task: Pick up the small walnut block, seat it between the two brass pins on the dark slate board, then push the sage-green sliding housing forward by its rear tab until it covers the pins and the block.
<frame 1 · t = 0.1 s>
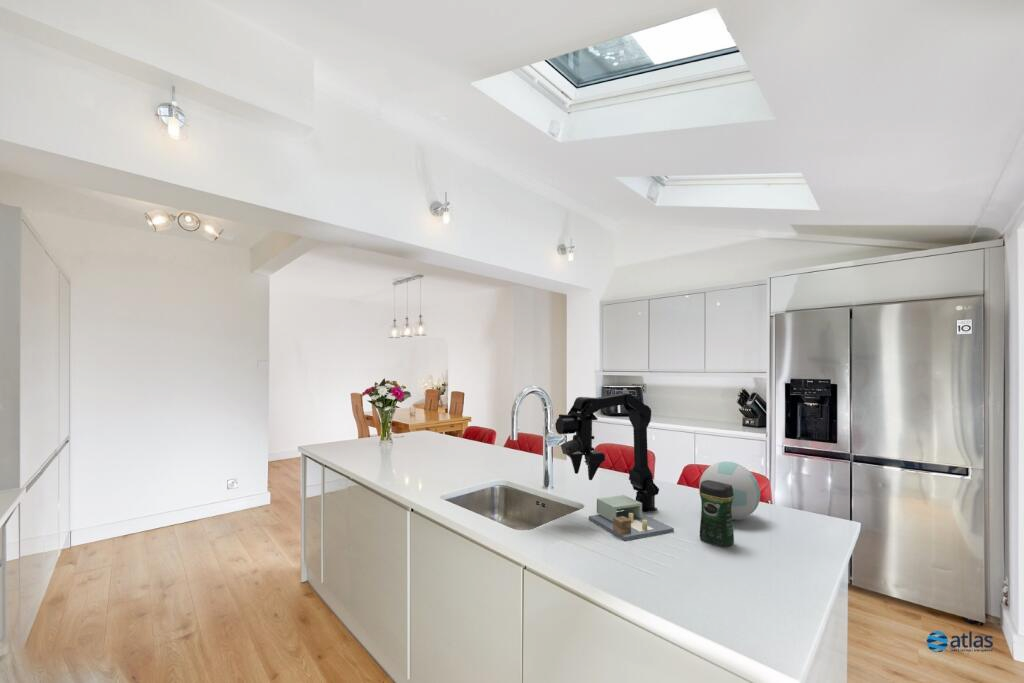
hand: (583, 476, 162), 15 cm above the worktop, tool pointing down, fingers open, 9 cm apart
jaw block: (621, 531, 147), point 1 cm above the worktop, touching board
housing: (615, 506, 163), point 4 cm above the worktop, slide at 0.0 cm
volleyball: (728, 518, 165), on the worktop
coffee jar: (716, 542, 143), on the worktop
board: (629, 525, 155), on the worktop
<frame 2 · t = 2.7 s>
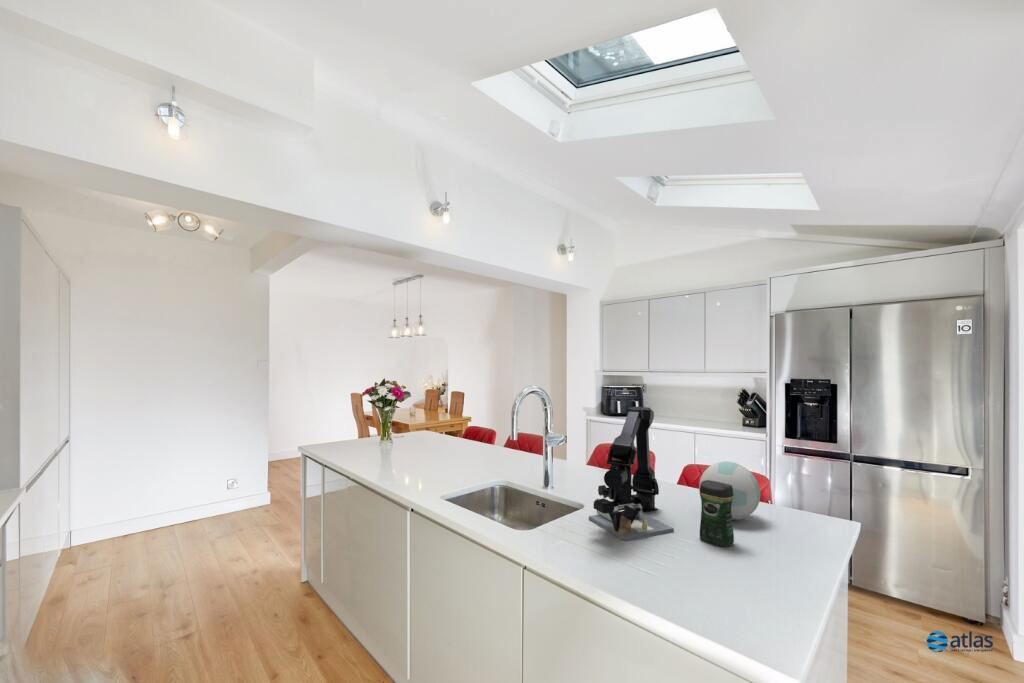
hand: (621, 530, 147), 2 cm above the worktop, tool pointing down, fingers closed on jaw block, 4 cm apart
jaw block: (621, 531, 147), point 1 cm above the worktop, touching board, gripper
everything else where it was.
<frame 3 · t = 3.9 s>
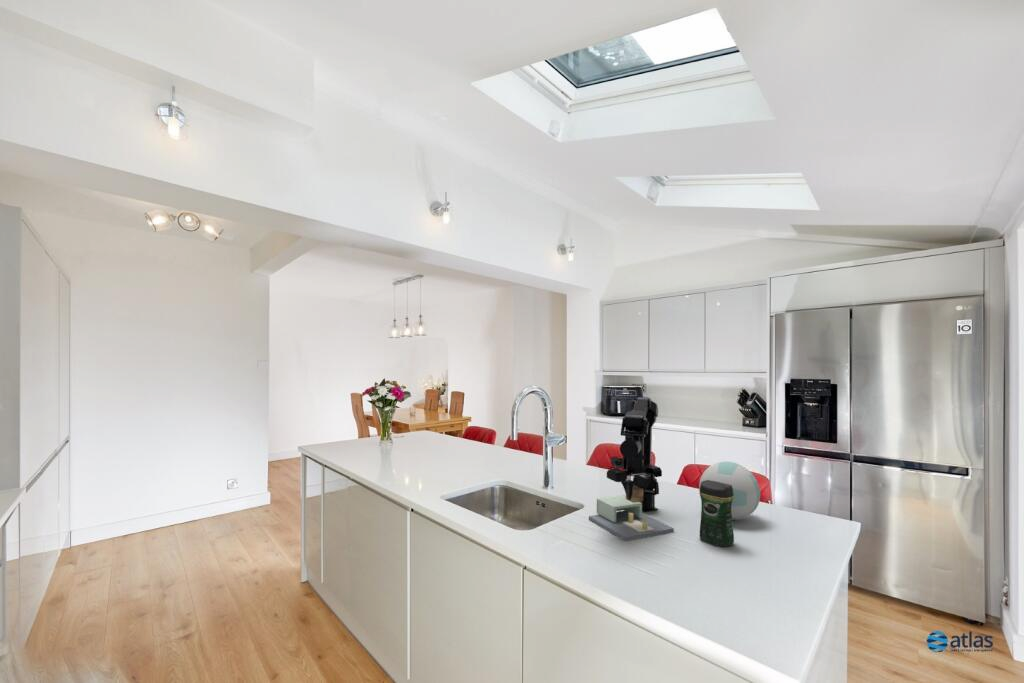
hand: (634, 498, 151), 10 cm above the worktop, tool pointing down, fingers closed on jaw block, 4 cm apart
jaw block: (634, 500, 151), point 10 cm above the worktop, touching gripper
everything else where it was.
when the fingers open (3 cm above the worktop, at t = 5.2 s): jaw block drops 1 cm, resting on board.
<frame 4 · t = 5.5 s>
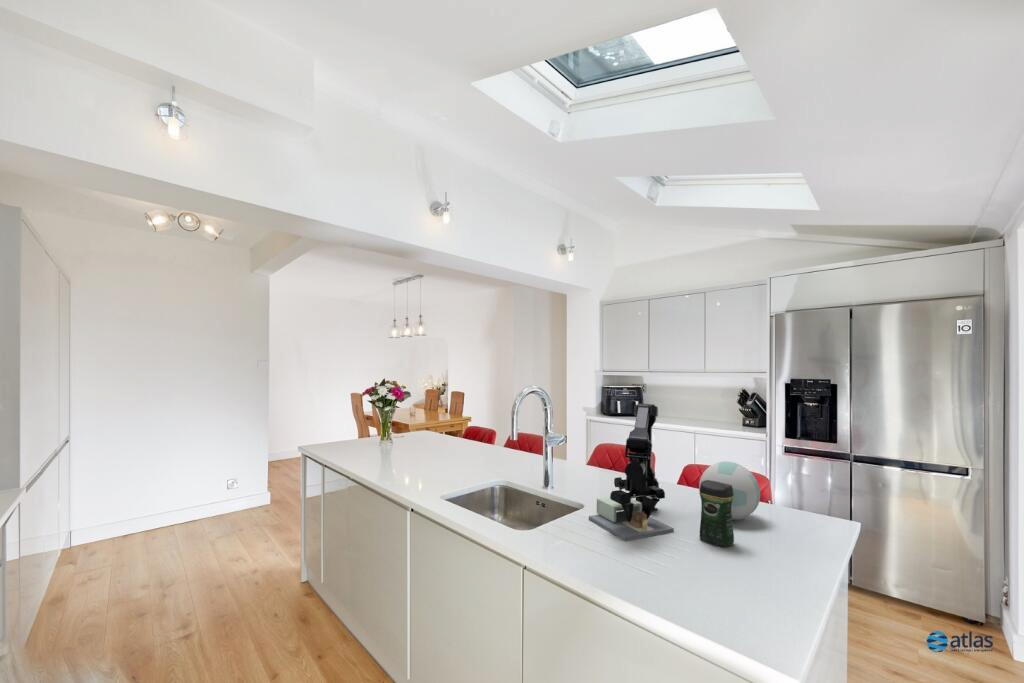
hand: (637, 520, 152), 3 cm above the worktop, tool pointing down, fingers open, 7 cm apart
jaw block: (637, 525, 152), point 1 cm above the worktop, touching board
everything else where it was.
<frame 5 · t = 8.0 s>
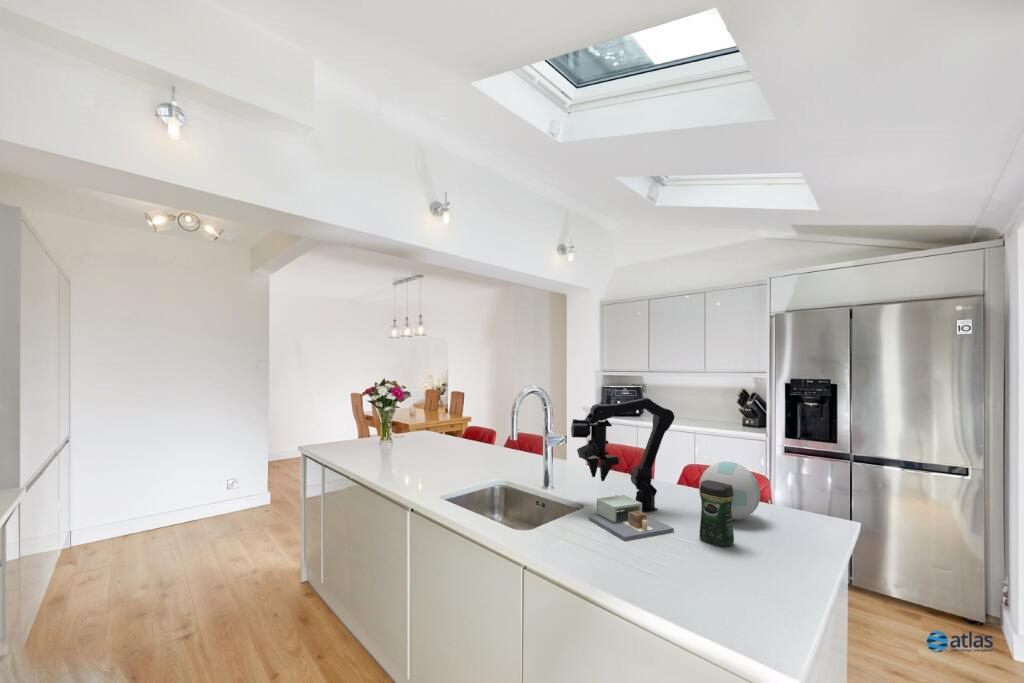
hand: (598, 479, 173), 11 cm above the worktop, tool pointing down, fingers open, 6 cm apart
nothing on the worktop moved.
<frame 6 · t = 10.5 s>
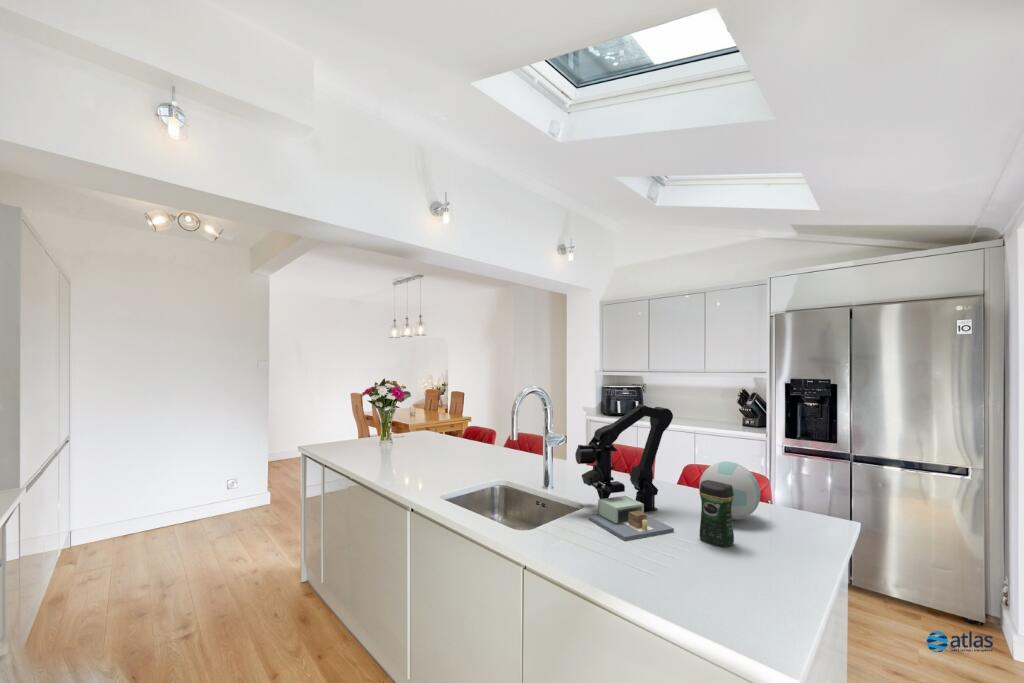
hand: (603, 505, 170), 2 cm above the worktop, tool pointing down, fingers closed
housing: (617, 507, 162), point 4 cm above the worktop, slide at 1.0 cm, touching gripper
everything else where it was.
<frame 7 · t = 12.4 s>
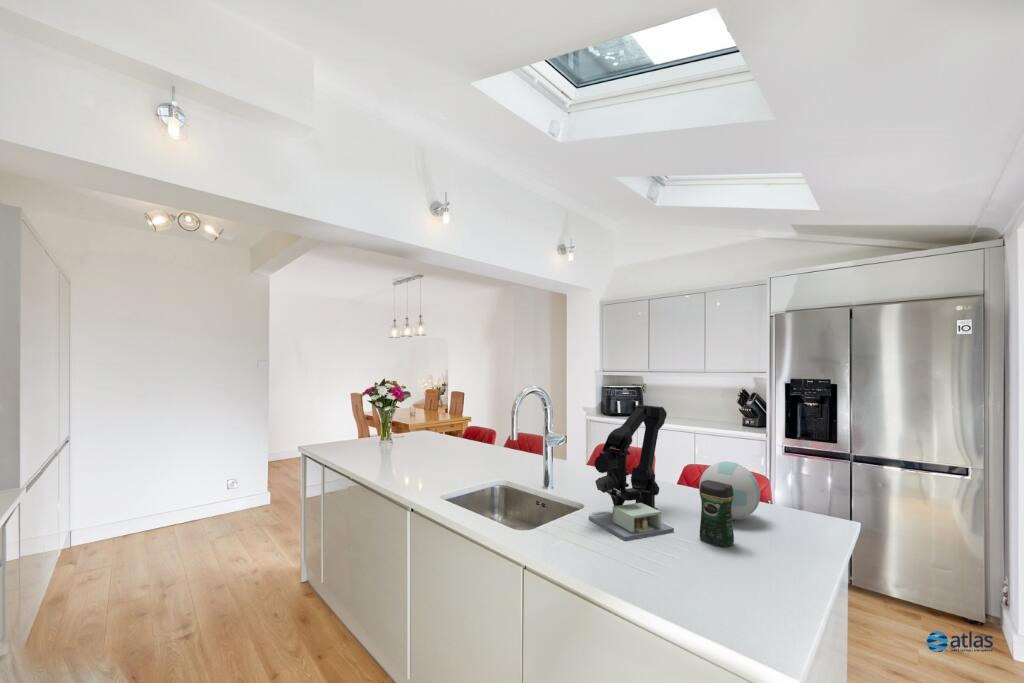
hand: (617, 512, 162), 2 cm above the worktop, tool pointing down, fingers closed
housing: (632, 514, 154), point 4 cm above the worktop, slide at 9.4 cm, touching gripper
everything else where it was.
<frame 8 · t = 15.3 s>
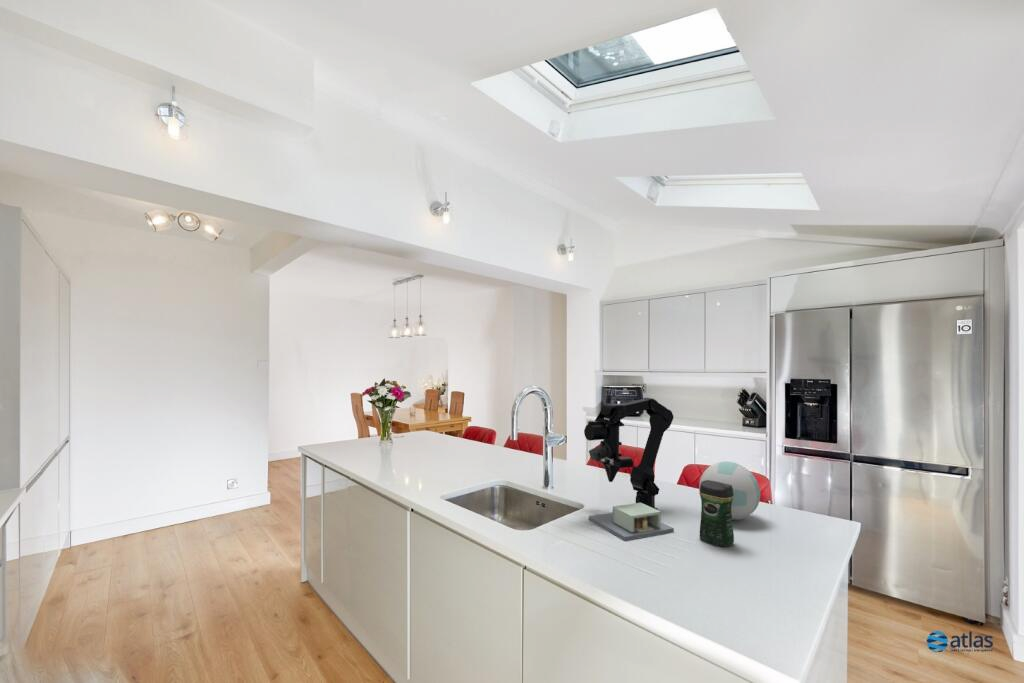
hand: (610, 481, 166), 12 cm above the worktop, tool pointing down, fingers closed
housing: (632, 514, 154), point 4 cm above the worktop, slide at 9.3 cm
everything else where it was.
at the end: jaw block 0.0 cm from the target spot on the board, point 1.4 cm above the board's base; housing slide at 9.3 cm; the gripper is holding nothing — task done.
